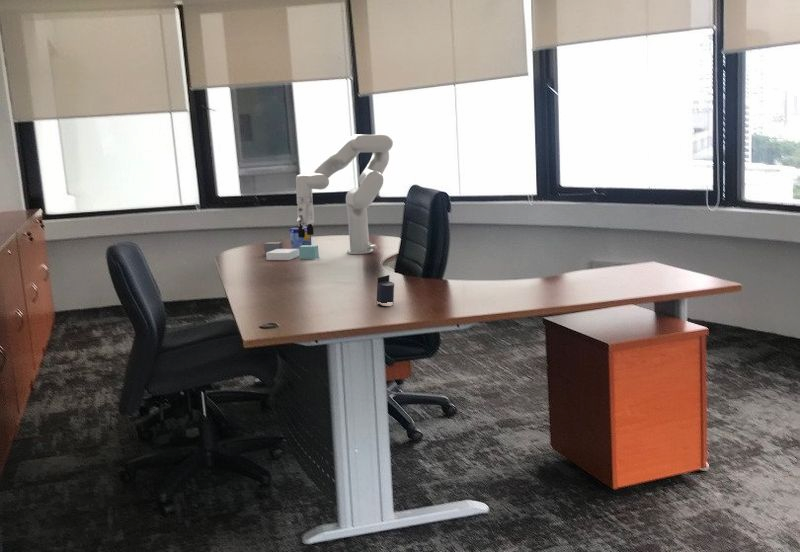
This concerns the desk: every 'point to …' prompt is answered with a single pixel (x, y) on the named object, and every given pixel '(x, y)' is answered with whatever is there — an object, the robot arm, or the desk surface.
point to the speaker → (385, 290)
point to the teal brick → (308, 252)
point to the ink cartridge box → (299, 238)
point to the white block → (282, 254)
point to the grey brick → (272, 246)
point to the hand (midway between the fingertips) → (306, 236)
